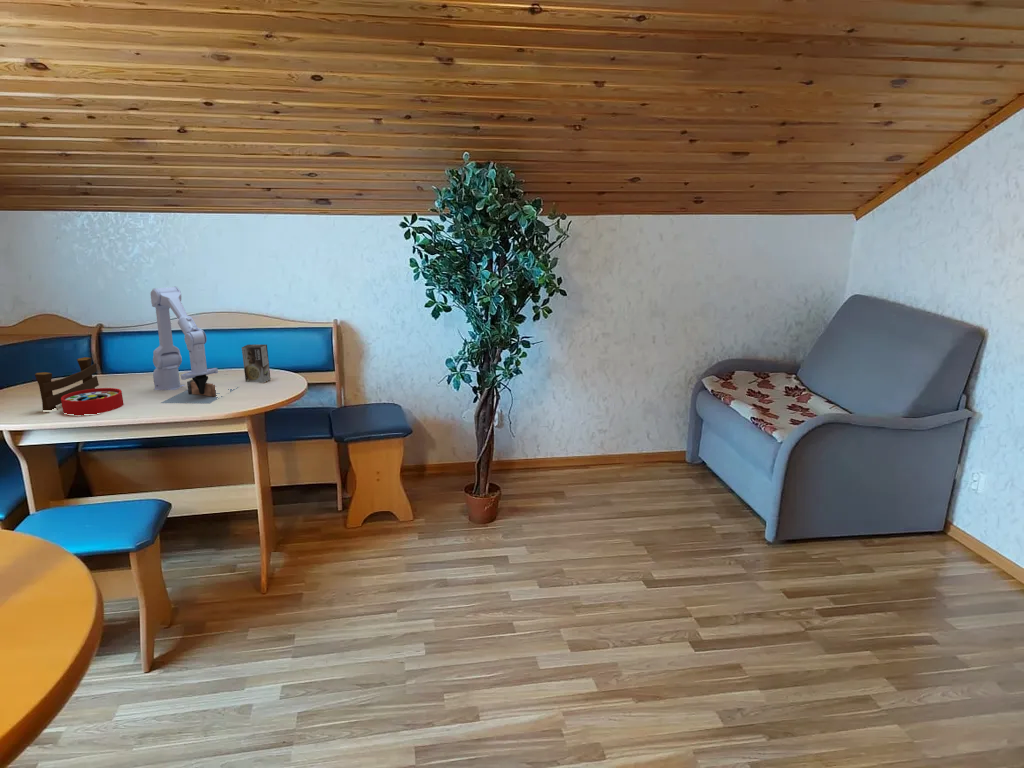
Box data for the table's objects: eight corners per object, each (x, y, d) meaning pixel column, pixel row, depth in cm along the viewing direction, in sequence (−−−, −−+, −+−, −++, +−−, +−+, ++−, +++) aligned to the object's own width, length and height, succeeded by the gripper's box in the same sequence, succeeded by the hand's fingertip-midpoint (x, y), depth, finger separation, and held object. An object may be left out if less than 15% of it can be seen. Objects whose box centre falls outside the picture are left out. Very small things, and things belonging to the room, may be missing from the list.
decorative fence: (51, 413, 256) (44, 374, 252) (36, 413, 255) (28, 375, 252) (102, 390, 288) (96, 356, 285) (88, 391, 288) (82, 356, 284)
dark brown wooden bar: (187, 394, 280) (186, 382, 278) (201, 387, 291) (200, 375, 290) (191, 394, 280) (190, 382, 278) (205, 387, 291) (204, 375, 289)
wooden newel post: (191, 393, 279) (190, 382, 278) (194, 392, 281) (193, 381, 279) (214, 396, 275) (212, 384, 273) (217, 395, 276) (215, 384, 275)
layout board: (160, 403, 267) (160, 402, 267) (194, 387, 292) (194, 386, 292) (209, 404, 266) (209, 403, 266) (239, 387, 291) (239, 386, 291)
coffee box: (271, 379, 305) (267, 344, 301) (264, 383, 299) (261, 347, 295) (251, 379, 306) (248, 344, 302) (244, 382, 300) (241, 346, 296)
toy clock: (132, 388, 270) (100, 401, 250) (134, 402, 271) (103, 417, 252) (83, 387, 271) (48, 401, 251) (85, 401, 272) (50, 416, 253)
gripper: (186, 365, 264) (190, 399, 267) (220, 358, 275) (224, 391, 278) (176, 363, 268) (180, 396, 271) (210, 356, 279) (214, 388, 282)
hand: (202, 393), depth 275 cm, fingers closed
